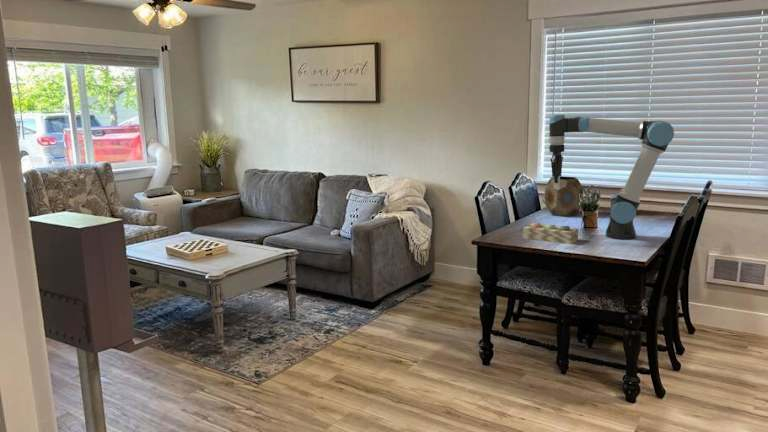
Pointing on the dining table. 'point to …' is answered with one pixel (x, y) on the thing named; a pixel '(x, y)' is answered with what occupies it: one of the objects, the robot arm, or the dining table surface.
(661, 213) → the dining table surface
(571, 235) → the beige woven box
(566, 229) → the button charcoal
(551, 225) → the button sage
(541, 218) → the dining table surface
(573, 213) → the brown dodecahedron
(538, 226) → the button terracotta
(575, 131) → the robot arm
